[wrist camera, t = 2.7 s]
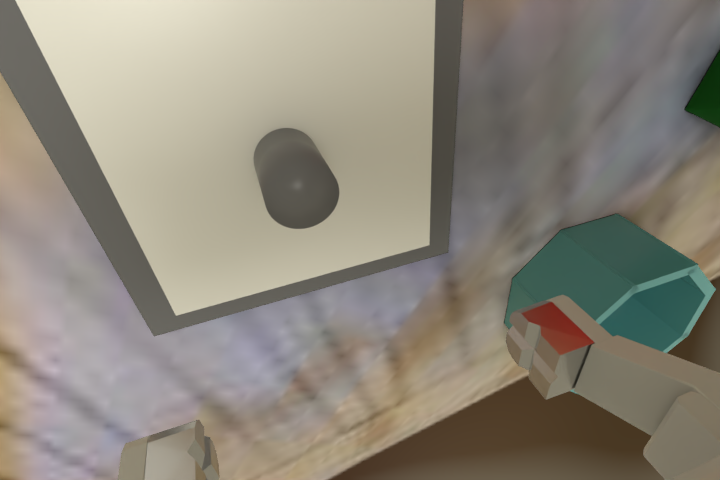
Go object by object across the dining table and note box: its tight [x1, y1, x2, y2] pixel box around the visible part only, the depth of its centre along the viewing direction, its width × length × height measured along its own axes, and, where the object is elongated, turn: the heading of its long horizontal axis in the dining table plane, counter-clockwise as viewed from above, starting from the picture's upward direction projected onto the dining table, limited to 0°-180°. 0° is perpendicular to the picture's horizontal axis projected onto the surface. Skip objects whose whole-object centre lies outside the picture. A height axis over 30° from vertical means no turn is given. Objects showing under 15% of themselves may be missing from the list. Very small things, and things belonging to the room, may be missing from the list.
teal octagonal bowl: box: [504, 214, 716, 395], centre depth 34 cm, size 13×13×7 cm
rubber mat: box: [0, 0, 463, 336], centre depth 21 cm, size 20×20×1 cm
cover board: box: [15, 0, 436, 316], centre depth 19 cm, size 16×16×5 cm
